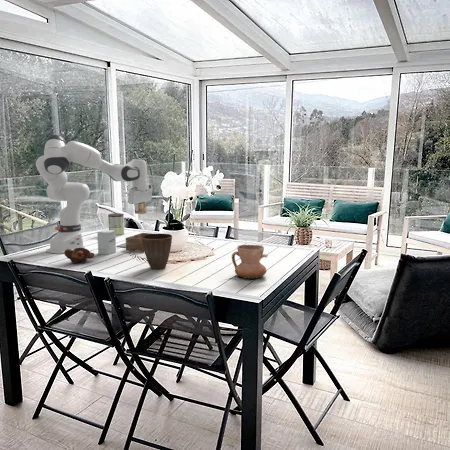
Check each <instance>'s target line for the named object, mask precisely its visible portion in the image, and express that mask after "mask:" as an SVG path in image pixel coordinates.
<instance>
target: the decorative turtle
mask: <svg viewBox="0 0 450 450" xmlns="http://www.w3.org/2000/svg"><path fill="white" fill-rule="evenodd" d="M63 254H64V256H65V257H66V259H69V260H70V262H71V263H73V264H74V265H77V264H78V263H79V262H81V263H82V264H86V262H87V260H88V259H94V257H95V253H94V252H91V251H90V250H89V249H87V248H86V247H85V248H76V249H74V250H71V249H67V250H65V252H64V253H63Z"/></svg>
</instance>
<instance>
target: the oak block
mask: <svg viewBox="0 0 450 450" xmlns="http://www.w3.org/2000/svg"><path fill="white" fill-rule="evenodd" d="M138 207H139V211H136V209H135V208H134V214H135V215H136V214H137V215H144V214H147V213H148V211H147V202H146V203H138Z"/></svg>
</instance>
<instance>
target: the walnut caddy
mask: <svg viewBox="0 0 450 450" xmlns="http://www.w3.org/2000/svg"><path fill="white" fill-rule="evenodd" d="M148 234H153V233H152V232H151V233H150V232H141V233H137V234H134V235H131V236H128V237H127V236H126V237H125V243H126V248H125V250H126V251H134V252H135V250H138V251H137V252H144V248H143V243H142V238H141V237H142V236H144V235H148Z"/></svg>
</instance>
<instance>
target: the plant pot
mask: <svg viewBox="0 0 450 450" xmlns="http://www.w3.org/2000/svg"><path fill="white" fill-rule="evenodd" d="M141 238H142V243H143V248H144V251H145V252H144V251H143V252H144V255H145V257H146V260H147V262H148V265H149V267H150V269H151V270H155V271H157V270H164V269H166V267H167V265H168V262H169V258H170V257H169V256H170V254H171V250H172V249H171V248H172V243H173V242H172V240H173V235H172V234H169V233H152V234H148V235H144V236H142V237H141Z"/></svg>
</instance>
